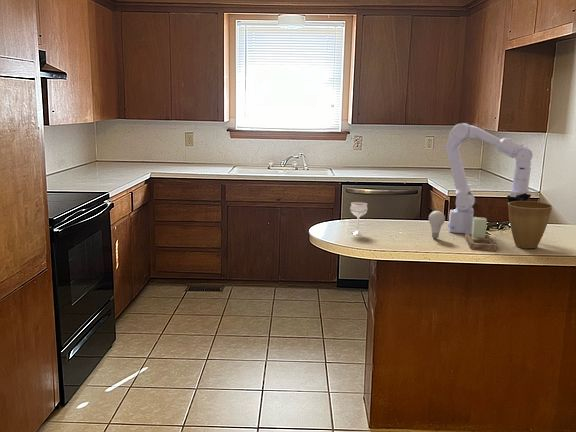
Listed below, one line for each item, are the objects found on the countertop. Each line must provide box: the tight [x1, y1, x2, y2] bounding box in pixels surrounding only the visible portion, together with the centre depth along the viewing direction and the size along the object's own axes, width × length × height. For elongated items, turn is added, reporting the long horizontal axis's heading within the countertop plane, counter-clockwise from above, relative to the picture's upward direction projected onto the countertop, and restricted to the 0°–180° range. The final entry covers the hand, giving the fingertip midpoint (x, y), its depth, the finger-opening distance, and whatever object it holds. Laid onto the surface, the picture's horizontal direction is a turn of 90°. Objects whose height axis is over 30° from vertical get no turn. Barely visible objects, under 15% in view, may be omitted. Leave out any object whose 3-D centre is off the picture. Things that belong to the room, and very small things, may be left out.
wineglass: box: [349, 201, 368, 235], centre depth 219 cm, size 7×7×12 cm
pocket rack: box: [464, 233, 497, 252], centre depth 208 cm, size 9×17×2 cm, turn 169°
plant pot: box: [507, 200, 553, 249], centre depth 205 cm, size 15×15×16 cm
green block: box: [471, 216, 488, 238], centre depth 212 cm, size 4×4×9 cm
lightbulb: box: [428, 210, 446, 239], centre depth 214 cm, size 6×6×11 cm
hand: (517, 213), depth 217 cm, fingers open, 7 cm apart
